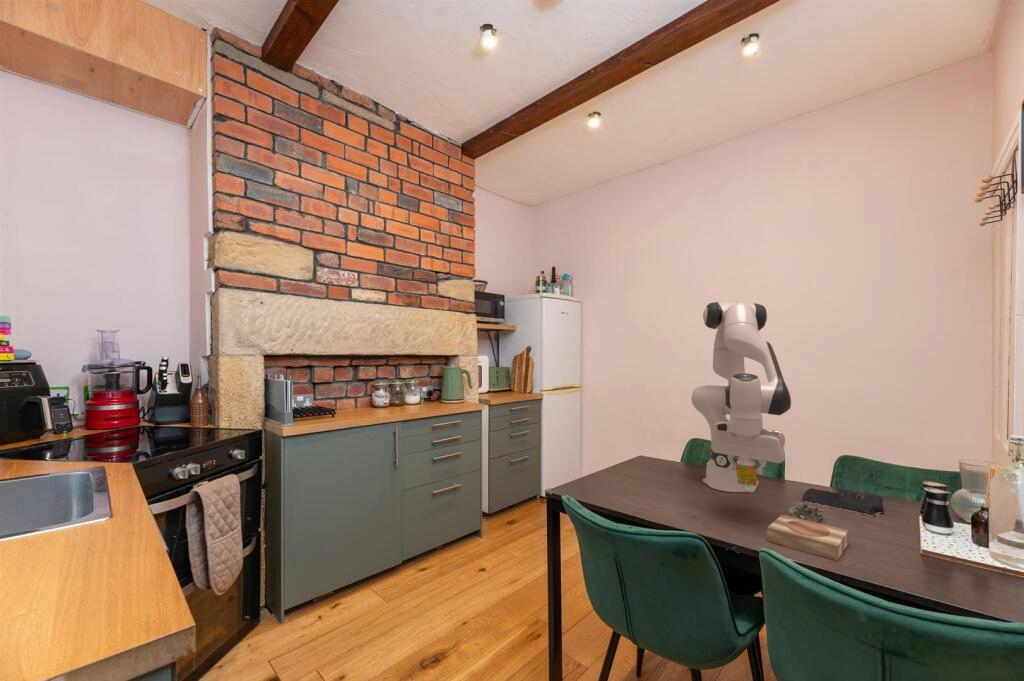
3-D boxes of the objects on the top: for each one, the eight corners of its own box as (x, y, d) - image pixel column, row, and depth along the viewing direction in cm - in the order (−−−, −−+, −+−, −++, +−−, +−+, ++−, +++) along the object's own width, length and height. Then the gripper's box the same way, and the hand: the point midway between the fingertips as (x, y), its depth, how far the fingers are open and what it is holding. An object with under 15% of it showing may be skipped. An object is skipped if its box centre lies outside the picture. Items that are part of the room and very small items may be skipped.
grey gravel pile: (814, 528, 131) (814, 514, 131) (786, 520, 137) (786, 507, 137) (826, 519, 137) (826, 506, 138) (799, 512, 143) (799, 499, 144)
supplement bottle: (737, 486, 133) (736, 454, 133) (736, 481, 137) (735, 450, 138) (757, 488, 130) (757, 455, 130) (756, 483, 135) (755, 451, 135)
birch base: (782, 526, 131) (782, 513, 131) (848, 543, 119) (848, 529, 120) (767, 540, 121) (767, 526, 121) (838, 561, 110) (837, 545, 110)
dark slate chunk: (808, 493, 163) (808, 480, 164) (885, 507, 148) (885, 493, 148) (799, 503, 152) (799, 489, 153) (881, 520, 137) (881, 505, 137)
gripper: (787, 430, 129) (788, 476, 129) (716, 421, 144) (717, 463, 144) (781, 433, 124) (782, 481, 124) (708, 424, 139) (709, 467, 139)
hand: (746, 472), depth 134 cm, fingers closed on supplement bottle, 5 cm apart
